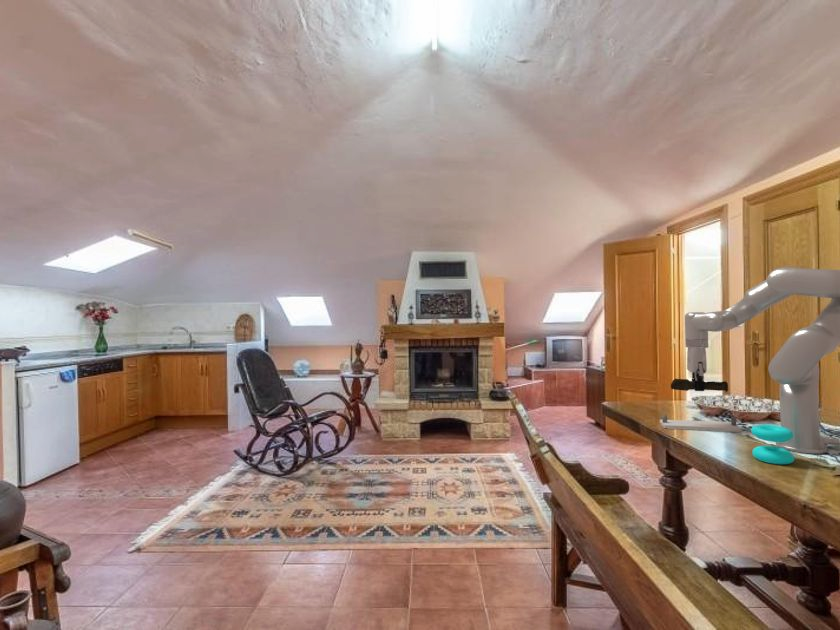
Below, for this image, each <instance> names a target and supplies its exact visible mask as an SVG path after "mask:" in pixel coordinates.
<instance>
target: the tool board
mask: <svg viewBox="0 0 840 630" xmlns="http://www.w3.org/2000/svg"><path fill="white" fill-rule="evenodd" d="M660 423H661V424H660ZM659 424H660V425H661V426H662V427H663V429H664V428H668V429H667V430H677V429H683V430H682V431H705V432H706V431H707V432H726V433H727V432H728V433H743V428H742V427H740V426H739V425H737V417H736V416H731V417H730V421H715V420H714V421H712V420H687V419H686V420H685V419H683V420H682V419H681V420H680V419H668V416H667V414H662V419H659Z"/></svg>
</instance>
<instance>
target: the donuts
mask: <svg viewBox="0 0 840 630" xmlns="http://www.w3.org/2000/svg"><path fill="white" fill-rule="evenodd" d="M750 430H751V431H750V432H751V435H753V436H754V437H756V438H757V439H758V440H759V439H760V440H762V441H766V442H773V443H776V442H786V441H789V440H791V439H792V438H793V433H792V431H791V430H789V429H787V428H784V427H781V425H780V426H779V425H773V424H756V425H754V426H752V427H751V428H750ZM751 453H752V456H753V457H754V458H755V459H757V460H759V461H761V462H764V463H767V464H774V465H790V464H793V462H794V461H795V455H794V454H793V453H792V451H790V450H786V449H783V448H780V447H778V446H776V445H775V446H774V445H758V446H755V447H754V448H753V449H752V452H751Z"/></svg>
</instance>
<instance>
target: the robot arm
mask: <svg viewBox="0 0 840 630" xmlns="http://www.w3.org/2000/svg"><path fill="white" fill-rule="evenodd" d="M794 295H796V296H807V297H814V298H815V297H816V298H827V299H830V301H829V303H828V304H827V305H826V306H825V307H824V308H823V309H822V310H821V311H820V313H819V314H818V316H816V318H815V319H814V320H813V321H812V323H811V324H809V326H805V327H803V328H800V329H797V330H796V331H794V332H793V333H792V334H791V335H790V336H789V338H787V340H786V341H785V343H783V345H781V348H779V350H778V351H777V353H775V355H774V356H773V357H772V359H771V360H770V361H769V363H768V368H767V369H768V373H769V376H770V378H771V379H773V381H775V382H776V383H778V384H779V389H778V390H779V393H778V394H779V412H780V414H779V415H780V416H779V417H780V427H784V428H787V429H789V430H791V431H792V433H793V438H792V439H791V440H789V441H786V442H775V446H776V447H780V448H783V449H786V450H788V451H789V452H796V453H800V454H801V453H802V454H813V455H815V454H816V455H818V454H820V455H821V454H825V453H827V452H828V445H832V446H833V445H834V446H840V440H839V438H830V437H827V436H822V435H821V432H820V431H821V430H820V409H819V408H820V407H819V406H820V405H819V403H820V402H819V381H820V367H819V362H820V361H821V360H822V359H823V357H824V356H826V355H829V354H831V353H833V352H835V351H836V349H838V347H839V346H840V269H827V268H826V269H825V268H805V267H795V266H781V267H778V268H775V269H773V270H772V271H770V272H769V273H768V275H767V277H766V279H764V280H763V281H761V282H759V283H757V284H756V285H754V286H753V287H751V288H749V289H748V290H746V291H745V292H744V295H743V297H742V299H741V300H739V301H738V302H736V303H735V304H733V305H732V306H729V307H728V308H726V309H724V310H720V311H719V310H718V311H709V312H703V311H702V312H701V311H698V312H696V311H695V312H686V313H685V314H684V337H685V339H684V343H685V348H687V352H686V353H687V354H686V355H687V356H686V357H687V358H686V370H688V371H689V372H690V373H691V381H694V389H693V390H694V391H695V392H704V391H705V390H704V382H705V377H704V376H705V375H704V374H706V373H707V372H708V371H707V370H708V369H707V365H708V364H707V351H706V349H709V332H713V333H715V332H723V331H730V330H732V329H735V328H737V327H739V326H741V325H742V324H744V323H747V322H748V321H750V320H752V319H753V318H755V317H756V316H758V315H760V314H762V313H763V312H764V311H766V310H767V309H769V308H771V307H773V306H775V305H777V304H779V303H780V302H782V301H785V300H786V299H788V298H791V296H794Z"/></svg>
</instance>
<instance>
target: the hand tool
mask: <svg viewBox="0 0 840 630" xmlns="http://www.w3.org/2000/svg"><path fill="white" fill-rule="evenodd" d="M670 389H671V390H676V391H686V392H687V391H690V390H694V381H692V380H690V379H686V378H684V379H683V378H674V379H673V380H672V382H671V384H670ZM704 391H718V392H719V391H721V392H722V391H724V392H726V393H728V391H729V384H728V382H727V381H704Z"/></svg>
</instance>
